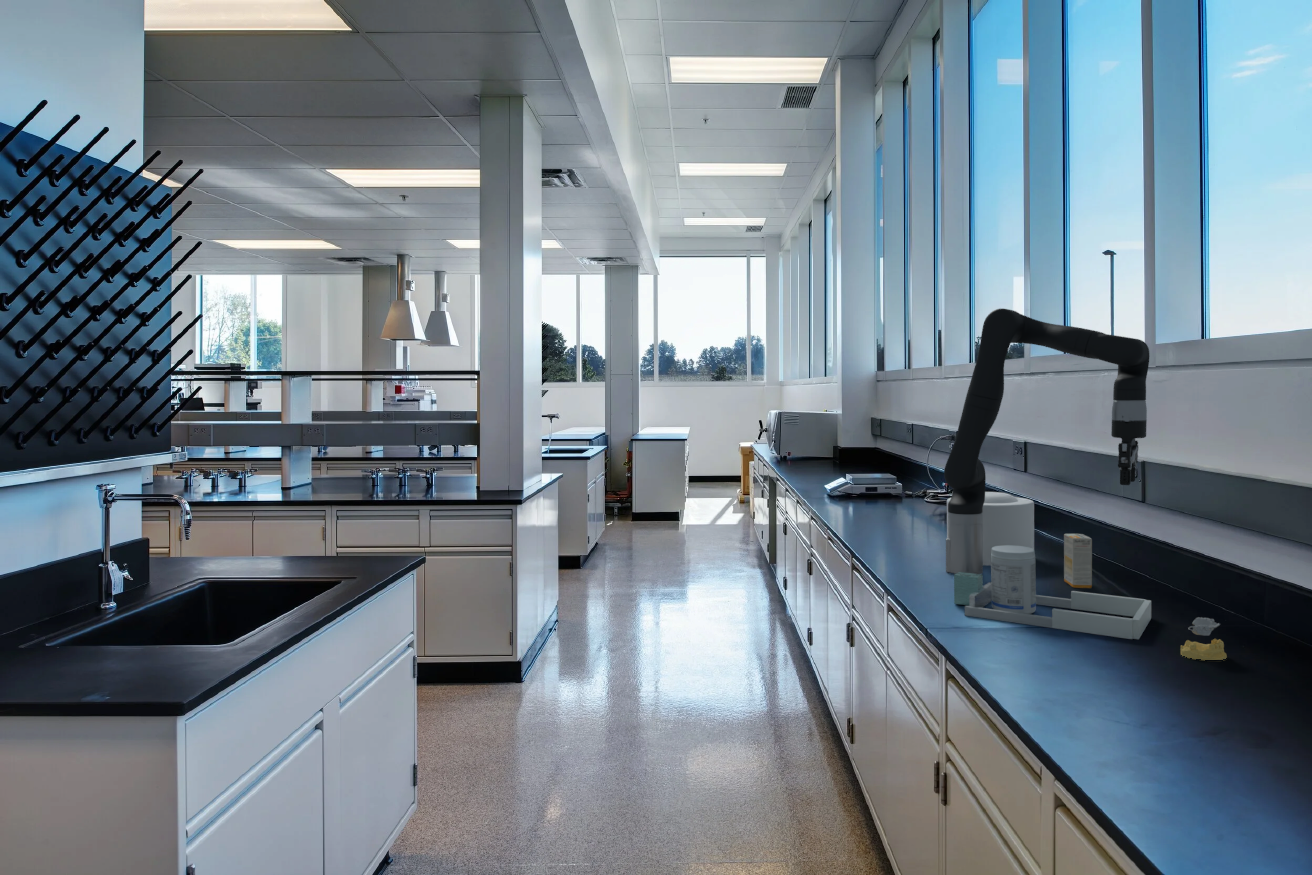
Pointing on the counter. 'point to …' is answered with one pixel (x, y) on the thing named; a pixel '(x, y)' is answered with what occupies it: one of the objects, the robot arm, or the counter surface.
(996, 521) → the container
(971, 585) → the scraper sled
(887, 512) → the counter surface
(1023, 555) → the supplement tub
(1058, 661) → the counter surface
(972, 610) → the guide rails
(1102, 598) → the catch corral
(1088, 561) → the supplement box
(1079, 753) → the counter surface
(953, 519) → the robot arm
